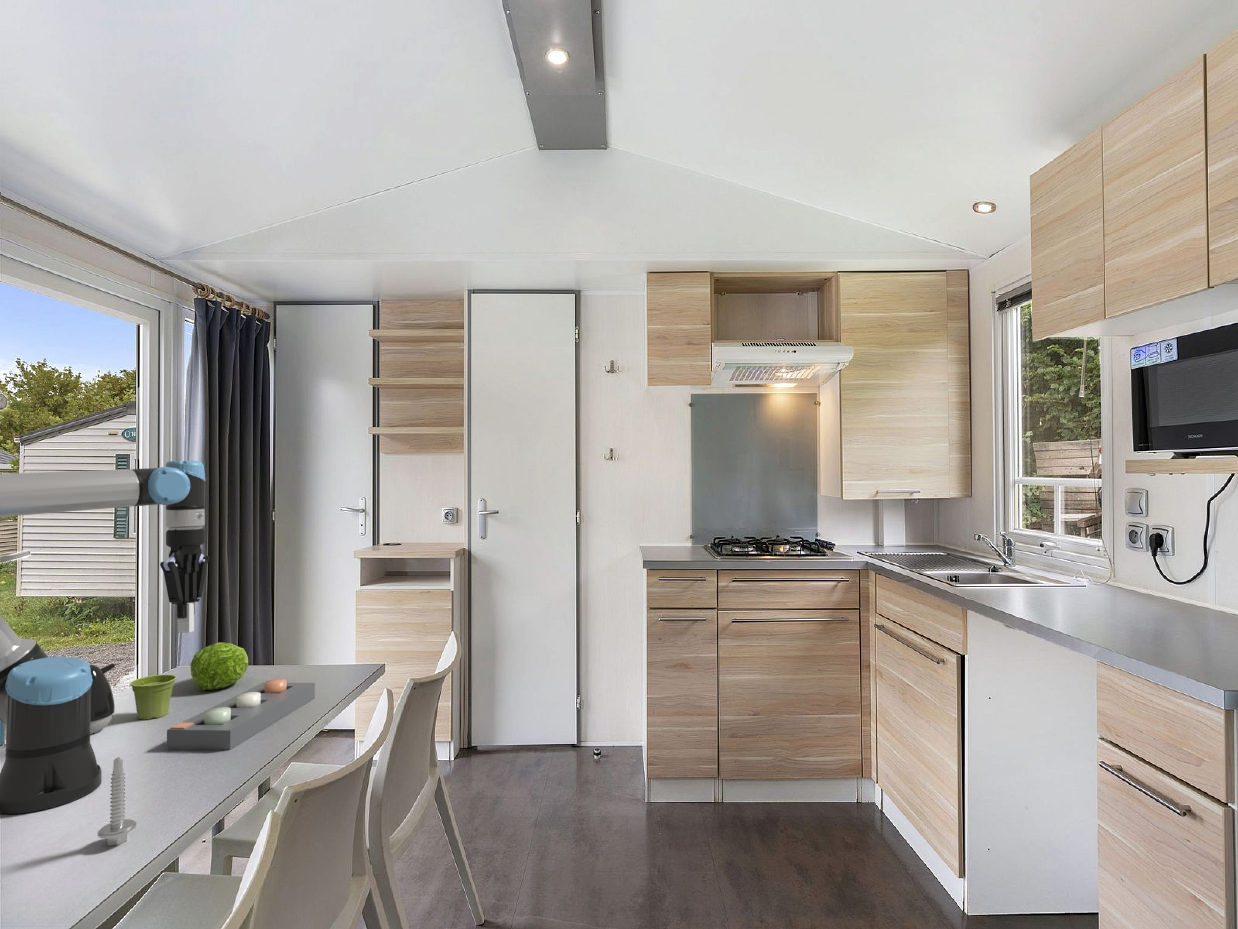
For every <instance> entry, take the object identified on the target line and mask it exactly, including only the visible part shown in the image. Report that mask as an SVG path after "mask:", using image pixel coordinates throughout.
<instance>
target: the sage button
mask: <svg viewBox="0 0 1238 929" xmlns="http://www.w3.org/2000/svg"><path fill="white" fill-rule="evenodd" d="M209 709H210V708H209ZM207 710H208V709H207ZM205 711H206V710H205ZM230 720H231V708H229V707H220V708H214V709H210V710H208V711H206V712H205V713H204V725H223V724H225V723H227V722H228V721H230Z"/></svg>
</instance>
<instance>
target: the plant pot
mask: <svg viewBox="0 0 1238 929" xmlns="http://www.w3.org/2000/svg"><path fill="white" fill-rule="evenodd" d="M177 678H178V676H177V675H175V674H166V673H165V674H156V675H148V676H144V677H143V676H142V677H140V678H137V679H134V680H132V681H131V682H130V683H129V685H130V687H131V689H132V692H133V693H134V700H135V706H136V707H135V708H136V714H137V718H138V719H139V720H145V719H148V720H151V719H153V718H155V719H156V718H157V719H158V718H159V719H160V718H162V717H165V716H166V715H168V714H169V709H170V703H171V699H172V698H171V697H172V692H173V688H174V685H175V682H176V680H177Z"/></svg>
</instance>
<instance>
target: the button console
mask: <svg viewBox="0 0 1238 929" xmlns="http://www.w3.org/2000/svg"><path fill="white" fill-rule="evenodd" d="M264 683H265V682H261V683H259V684H257V685H255V686H253V687H251V688H250V689H247V690H245V691H243V692H241V693H239V694H237V695H235V696H233V697H231V698H229V699H227V700H225V701H223V702H221V703H218V704H216V705H215V706H213V707H210V708H208V709H206V710H204V711H203V712H200V713H199V714H196V715H194V716H192V717H191V718H188V719H186V720H184V721H181V722H179V723H177V724H175V725H173V726H172V727H171V726H170V728H167V730H166V750H217V751H218V750H224V751H225V750H229V751H230V750H232V749H234V748H236V747H238V746H239V745H240V744H242V743H244V742H245V741H247V740H248V739H250V738H252V737H254V736H255V735H257V734H258V733H260V732H262V731H263V730H265V729H267V728H268V727H271V725H274V724H275V723H277V722H278V721H280V720H281V719H283V718H285V717H287V716H288V715H289V714H291V713H293V712H295V711H296V710H297V709H300V708H301V707H303V706H304V705H307V704H308V703H309V702H311V701H312V700H315V696H316V693H315V692H316V690H315V689H316V683H315V682H287V690H286V691H284V692H282V693H264ZM249 692H259V693H261V704H260V705H258V706H256V707H254V708H236V697H237V696H238V695H240V694H244V693H249ZM220 707H229V708H231V720H230V721H228V722H227V723H225V724H223V725H204V713H205V712H206V711H208V710H210V709H214V708H220Z"/></svg>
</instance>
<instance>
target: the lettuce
mask: <svg viewBox="0 0 1238 929" xmlns="http://www.w3.org/2000/svg"><path fill="white" fill-rule="evenodd" d="M248 669H249V658H248V655H247V652H246V650H245V648H243V647H241V646H237V645H235V644H233V643H230V642H216V643H214V644H210V645H208V646H206V647H204V648H202V649H201V650H198V651H197V652H195V654H194V655H193V657H192V659H191V662H190V676H191V677H192V679H193V681H194V683H195V685H197V686H198V687H199V688H200V689H201V690H202V691H209V690H211V691H212V690H218V689H224V688H226V687H227V688H228V686H231V685H233V684H235V683H237V682H238V681H239V680H240V679H242V678H243V676H244V675H245V673H246V672H247V670H248Z"/></svg>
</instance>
